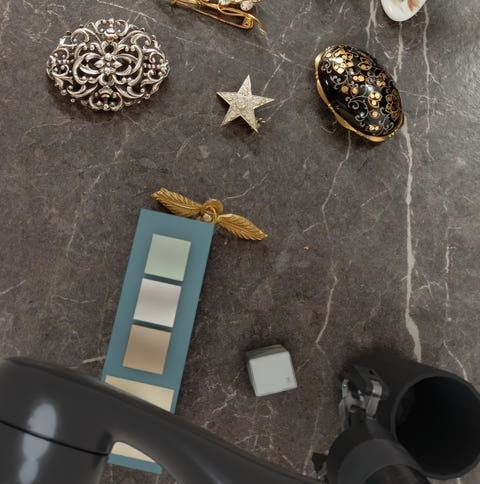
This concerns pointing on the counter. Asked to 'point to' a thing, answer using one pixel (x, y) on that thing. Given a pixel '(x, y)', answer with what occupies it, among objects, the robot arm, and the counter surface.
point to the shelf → (181, 329)
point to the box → (270, 370)
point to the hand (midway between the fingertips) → (331, 417)
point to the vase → (429, 414)
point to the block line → (151, 338)
